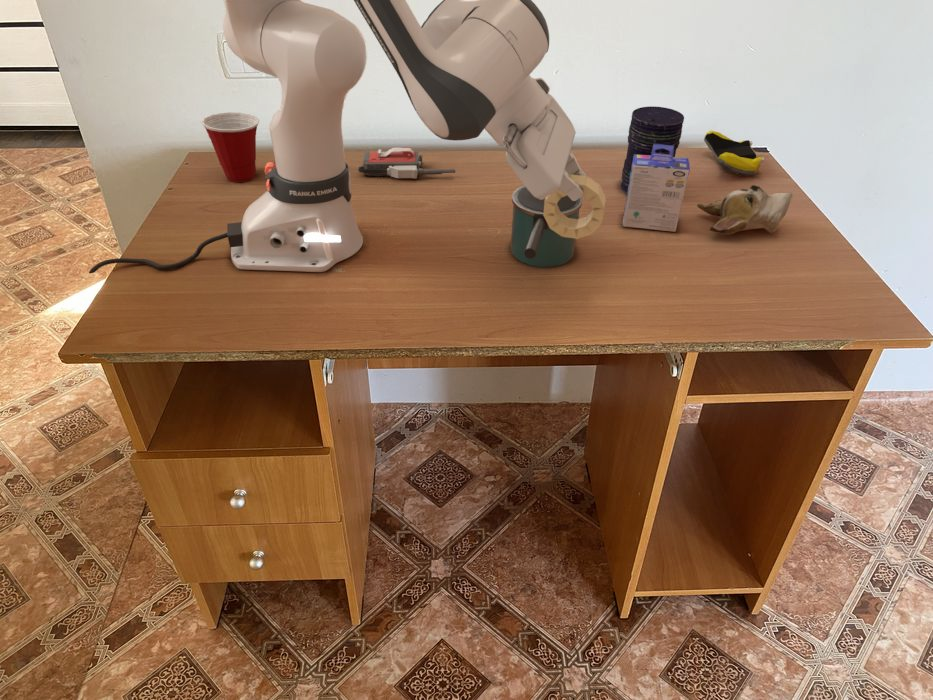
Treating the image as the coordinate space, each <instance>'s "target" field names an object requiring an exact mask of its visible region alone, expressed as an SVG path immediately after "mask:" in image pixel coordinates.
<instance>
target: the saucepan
mask: <svg viewBox="0 0 933 700" xmlns="http://www.w3.org/2000/svg"><path fill="white" fill-rule="evenodd" d="M511 202H512V223H511V224H512V225H511V239H510V240H511V241H510V252H511V254H512V255H513V257H514V258H515V259H516V260H517V261H519V262H521V263H524V264H526V265H529V266H532V267H537V268H538V267H539V268H550V267H551V268H552V267H559V266H561V265H564V264H567V263H568V262H569V261H571V260H572V258H573V257H574V254H575V249H576V240H577V239H575V238H567V237H562V236H560V235H559V234H557V233H556V232H554V231H553V230H551V229H550V228H549V226H548V224H547V222H546V220H545V218H544V215H543V213H544V202H545V198H544V199H543V200H540V199H537V198H536V197H534V196H533V195H532V194H531V193H530V192H529V190H528V189H527V188H526V187H525V185H524V184H523V185H521V186H519V187H518V188H516V189H515V190H514V191H513V192H512V195H511ZM557 205H558V208H559V210H560V212H561V213H562V214H564V215H565V216H566V217H568V218H571V219H579V217H580V210H581V208H582V206H583V196H582V197H580V198H579V199H578V200H576V201H572V200H571V199H570V198H569V197H568V195H567V196H564V197H562V198H561V199H560V200H559V201H558V202H557Z"/></svg>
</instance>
